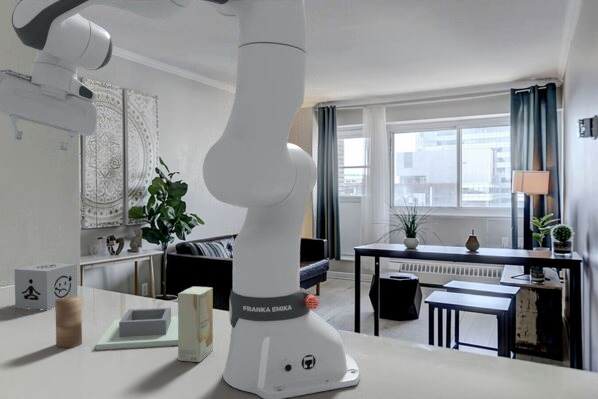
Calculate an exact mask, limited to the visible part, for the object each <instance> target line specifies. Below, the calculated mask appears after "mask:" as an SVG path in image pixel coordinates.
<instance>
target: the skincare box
mask: <svg viewBox="0 0 598 399" xmlns="http://www.w3.org/2000/svg"><path fill="white" fill-rule="evenodd" d="M213 289H214V288H213V287H209V286H191V287H189V288H186V289H184V290H183V291H181V292H179V293H178V294H177V303H178V304H177V316H178V345H177V359H178V361H183V362H191V363H192V362H195V363H196V362H197V363H200V362H202V361H203V360H204V359H205V358H207V357H208V355H209V354H211V353H212V352H213V349H214V348H213V346H214V343H213V342H214V340H213V339H214V338H213V337H214V336H213V334H214V333H213V332H214V331H213V330H214V328H213V322H214V321H213V320H214V319H213V316H214V315H213V314H214V313H213V311H214V310H213V309H214V308H213V306H214V305H213V301H214V300H213V297H214V296H213V291H214V290H213Z"/></svg>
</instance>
